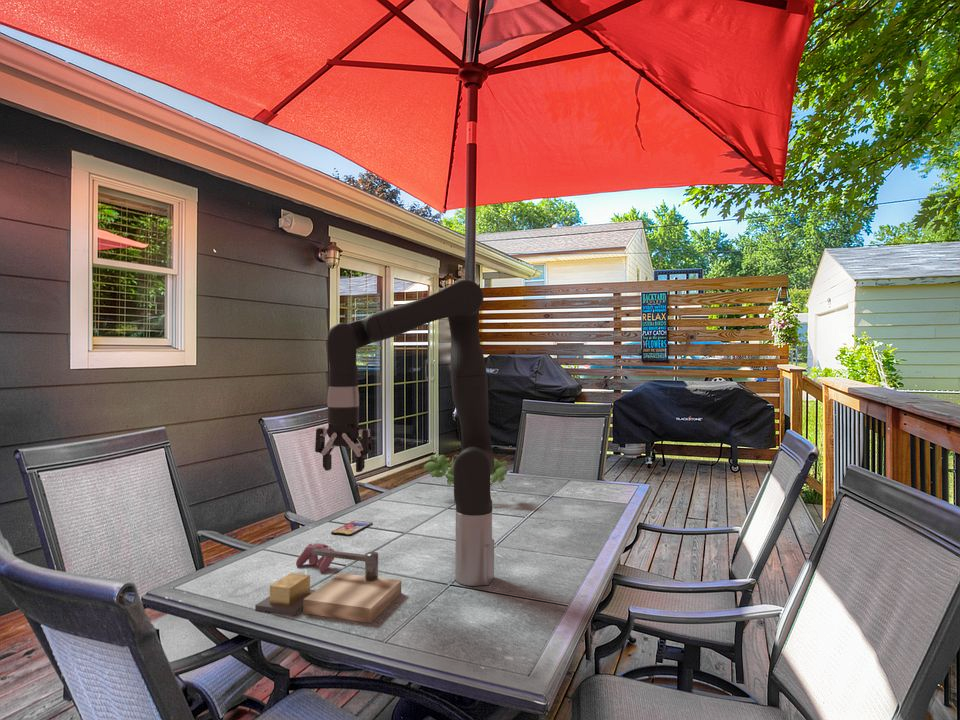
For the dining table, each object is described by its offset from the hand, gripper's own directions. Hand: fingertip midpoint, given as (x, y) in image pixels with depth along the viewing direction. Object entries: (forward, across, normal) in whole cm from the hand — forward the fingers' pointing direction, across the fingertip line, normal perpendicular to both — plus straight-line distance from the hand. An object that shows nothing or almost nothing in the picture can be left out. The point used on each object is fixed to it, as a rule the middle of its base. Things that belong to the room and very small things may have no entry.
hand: (343, 470), depth 139 cm
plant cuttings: (+28, -6, -92) cm, 96 cm away
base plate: (+28, -8, +9) cm, 30 cm away
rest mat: (+28, +6, +13) cm, 31 cm away
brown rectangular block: (+27, +6, +13) cm, 30 cm away
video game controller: (+28, +13, -9) cm, 32 cm away
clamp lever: (+25, -1, +2) cm, 25 cm away
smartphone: (+28, +20, -42) cm, 55 cm away
